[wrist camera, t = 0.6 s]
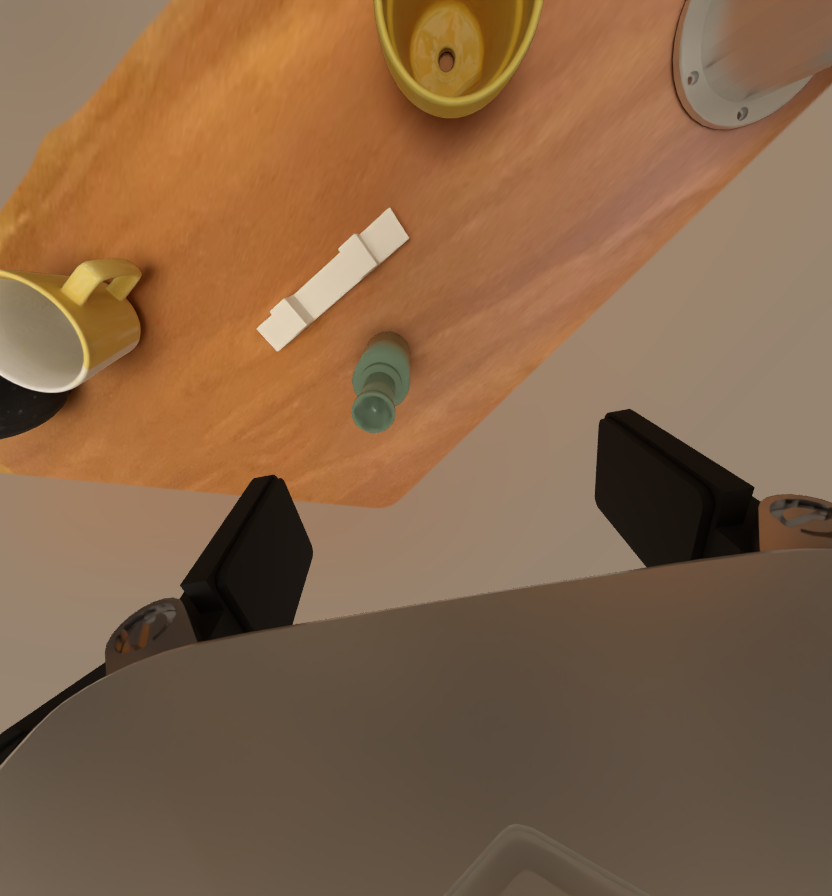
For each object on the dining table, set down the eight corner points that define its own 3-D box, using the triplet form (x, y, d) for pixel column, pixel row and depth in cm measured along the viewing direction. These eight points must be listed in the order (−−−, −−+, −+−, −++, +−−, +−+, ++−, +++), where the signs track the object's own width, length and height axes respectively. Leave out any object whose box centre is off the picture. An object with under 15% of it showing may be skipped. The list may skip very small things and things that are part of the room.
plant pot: (501, 143, 32) (533, 104, 24) (386, 144, 32) (376, 105, 24) (516, -32, 27) (564, -163, 18) (380, -32, 27) (365, -162, 18)
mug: (114, 376, 42) (31, 411, 33) (38, 291, 38) (-82, 304, 29) (205, 326, 40) (142, 348, 30) (134, 228, 35) (35, 220, 26)
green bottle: (391, 322, 39) (378, 365, 25) (419, 359, 42) (422, 420, 27) (356, 350, 41) (323, 406, 26) (384, 385, 43) (369, 455, 28)
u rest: (390, 209, 34) (387, 203, 30) (409, 238, 36) (408, 236, 31) (264, 325, 40) (244, 334, 35) (284, 347, 41) (267, 359, 36)
